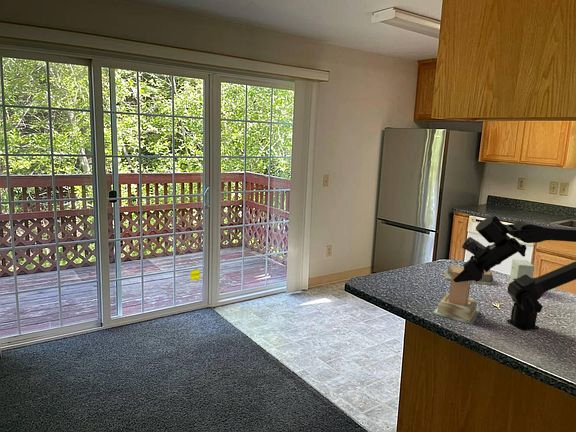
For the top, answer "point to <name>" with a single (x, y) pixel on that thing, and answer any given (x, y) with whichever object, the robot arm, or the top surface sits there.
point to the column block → (459, 289)
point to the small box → (521, 269)
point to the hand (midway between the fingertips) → (456, 278)
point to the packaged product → (485, 280)
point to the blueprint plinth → (457, 310)
